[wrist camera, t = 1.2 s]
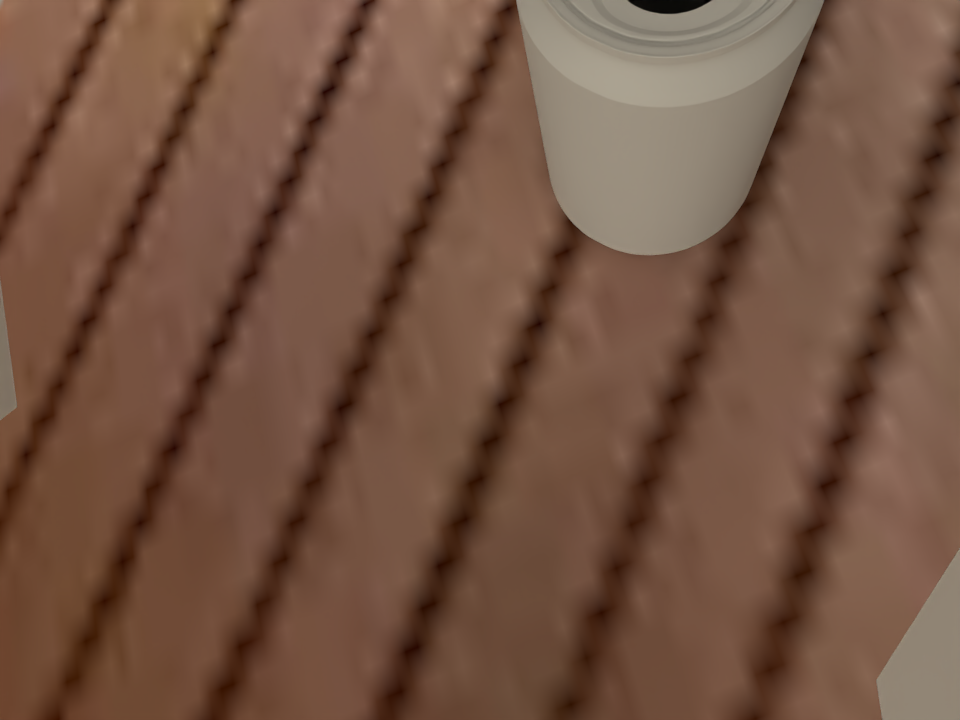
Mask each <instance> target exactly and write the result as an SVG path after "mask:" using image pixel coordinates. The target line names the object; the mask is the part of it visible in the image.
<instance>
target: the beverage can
mask: <svg viewBox="0 0 960 720" xmlns="http://www.w3.org/2000/svg"><path fill="white" fill-rule="evenodd" d="M516 2H517V7H518V12H519V18H520V23H521V28H522V34H523V39H524V44H525V49H526V55H527V60H528V65H529V71H530V76H531V81H532V86H533V92H534V97H535V102H536V108H537V113H538V118H539V124H540V129H541V134H542V139H543V145H544V150H545V155H546V161H547V166H548V171H549V176H550V181H551V185H552V188H553V191H554V194H555V196H556V199H557V201H558V203H559V205H560V206H561V208H562V210H563V211H564V213H565V214H566V215H567V217H568V218H569V219H570V220H571V222H572V223H573V224H574V225H575V226H576V227H577V228H579V229H580V230H581V231H582V232H583V233H584V234H585V235H587V236H588V237H590V238H592V239H594V240H595V241H597V242H599V243H601V244H603V245H605V246H607V247H609V248H612V249H614V250H617V251H621V252H625V253H630V254H637V255H661V254H668V253H673V252H677V251H681V250H684V249H688V248H690V247H693V246H695V245H697V244H699V243H701V242H703V241H705V240H706V239H708V238H709V237H711V236H712V235H714V234H715V233H717V232H718V231H719V230H720V229H722V228H723V227H724V226H725V225H726V224H727V223H728V222H729V221H730V220H731V219H732V218H733V216H734V215H735V214H736V213H737V211H738V210H739V208H740V207H741V205H742V204H743V202H744V201H745V199H746V197H747V195H748V192H749V190H750V188H751V185H752V183H753V180H754V178H755V175H756V173H757V170H758V168H759V165H760V162H761V160H762V157H763V155H764V152H765V150H766V147H767V145H768V142H769V140H770V137H771V135H772V132H773V129H774V127H775V124H776V122H777V119H778V117H779V114H780V112H781V109H782V107H783V104H784V102H785V99H786V96H787V94H788V91H789V89H790V86H791V84H792V81H793V79H794V76H795V74H796V71H797V68H798V66H799V63H800V61H801V58H802V56H803V53H804V51H805V48H806V46H807V43H808V41H809V38H810V35H811V33H812V30H813V28H814V25H815V23H816V20H817V18H818V15H819V13H820V10H821V8H822V5H823V2H824V0H516Z"/></svg>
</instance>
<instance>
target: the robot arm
mask: <svg viewBox="0 0 960 720" xmlns="http://www.w3.org/2000/svg"><path fill="white" fill-rule="evenodd" d="M15 408H17V402H16V394H15V387H14V379H13V372H12V364H11V357H10V349H9V342H8V334H7V327H6V319H5V312H4V304H3V297H2V289H1V282H0V420H1V419H2V418H4V417H5V416H6V415H7V414H9V413H10V412H11V411H13V410H14V409H15ZM876 682H877V688H878V695H879V701H880V708H881V714H882V720H960V549H959V550H958V552H957V553H956V555H955V557H954V558H953V560H952V561H951V563H950V565H949V566H948V568H947V569H946V571H945V572H944V574H943V576H942V577H941V579H940V580H939V582H938V583H937V585H936V587H935V588H934V590H933V591H932V593H931V595H930V596H929V598H928V599H927V601H926V602H925V604H924V606H923V607H922V609H921V610H920V612H919V614H918V615H917V617H916V618H915V620H914V621H913V623H912V625H911V626H910V628H909V629H908V631H907V632H906V634H905V636H904V637H903V639H902V640H901V642H900V644H899V645H898V647H897V648H896V650H895V651H894V653H893V655H892V656H891V658H890V659H889V661H888V662H887V664H886V666H885V667H884V669H883V670H882V672H881V674H880V675H879V677H878V678H877V680H876Z"/></svg>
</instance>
